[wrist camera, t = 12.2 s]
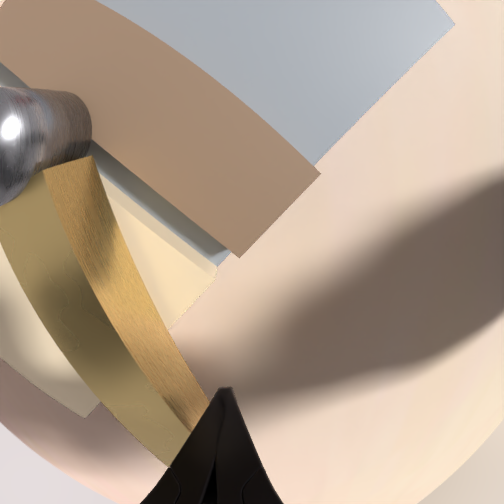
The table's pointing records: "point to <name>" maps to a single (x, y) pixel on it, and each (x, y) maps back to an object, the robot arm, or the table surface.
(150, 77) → the door mockup
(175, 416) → the latch bar
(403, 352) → the table surface
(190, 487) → the robot arm
